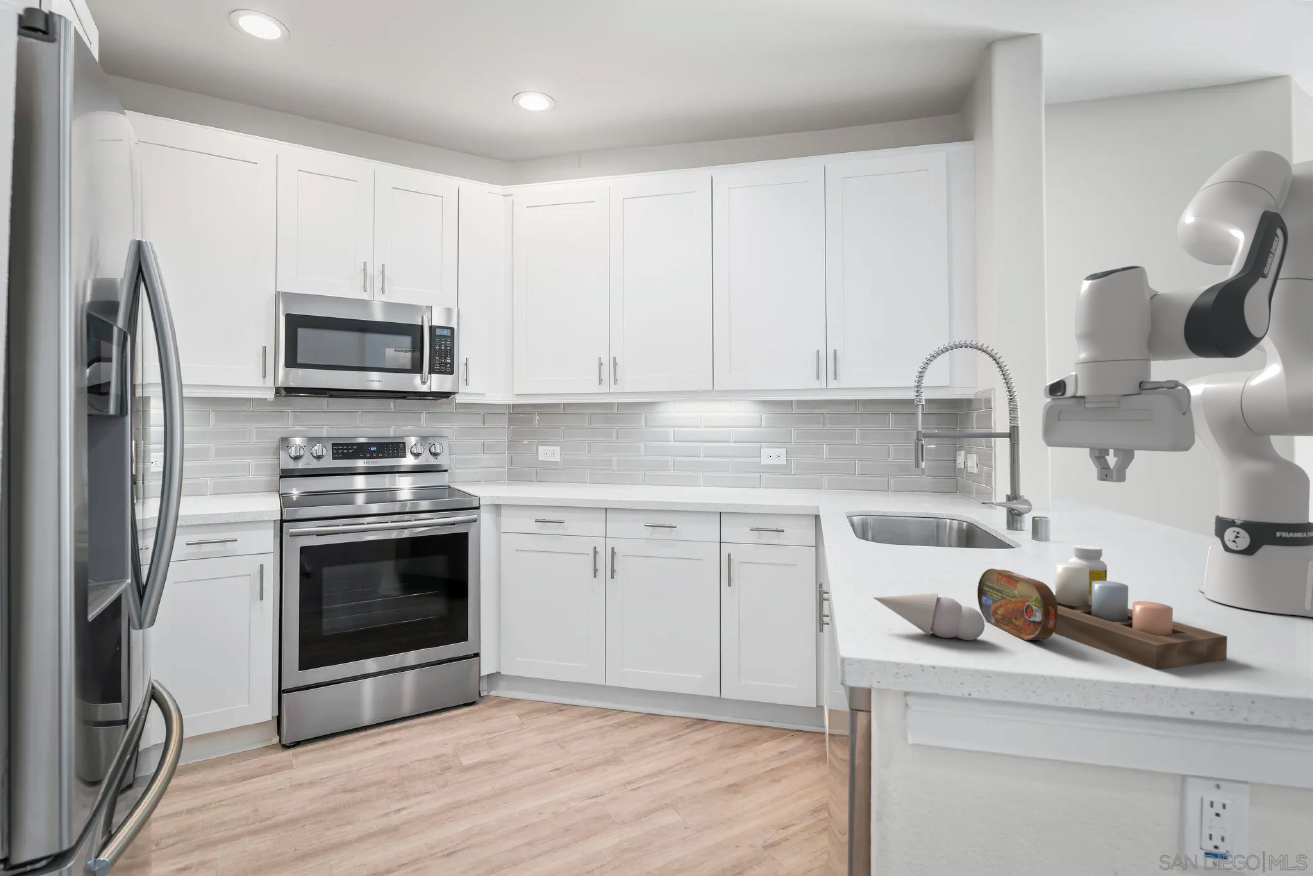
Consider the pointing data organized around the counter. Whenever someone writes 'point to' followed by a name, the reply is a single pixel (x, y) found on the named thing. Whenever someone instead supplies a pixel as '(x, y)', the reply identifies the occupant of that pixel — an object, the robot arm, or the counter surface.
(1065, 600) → the key ivory
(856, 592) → the counter surface
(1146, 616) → the salmon pink cylinder
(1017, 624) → the tin
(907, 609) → the ice cream cone
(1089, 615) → the wooden spice rack
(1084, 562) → the supplement bottle
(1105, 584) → the key slate
